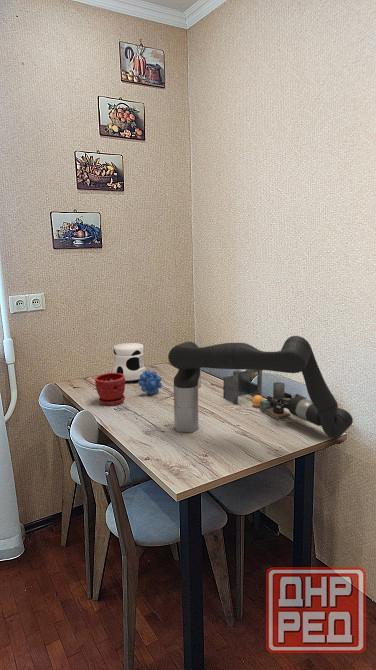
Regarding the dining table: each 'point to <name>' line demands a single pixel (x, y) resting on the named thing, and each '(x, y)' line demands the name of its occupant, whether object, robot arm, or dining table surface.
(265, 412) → the rail
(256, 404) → the ball
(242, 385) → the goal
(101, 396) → the plant pot
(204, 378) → the dining table surface
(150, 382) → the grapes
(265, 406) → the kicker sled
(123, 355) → the milk container
